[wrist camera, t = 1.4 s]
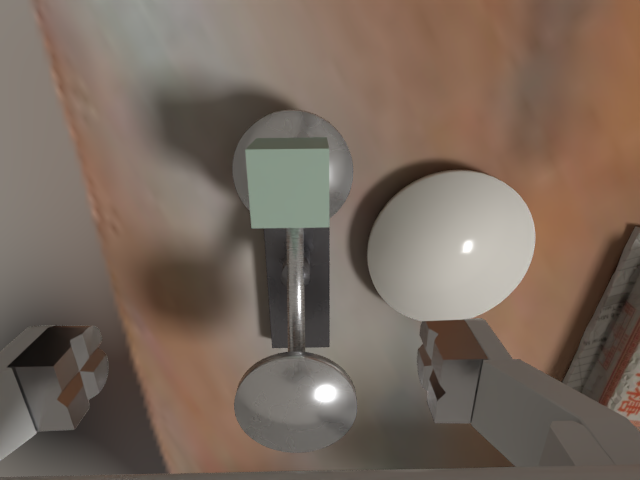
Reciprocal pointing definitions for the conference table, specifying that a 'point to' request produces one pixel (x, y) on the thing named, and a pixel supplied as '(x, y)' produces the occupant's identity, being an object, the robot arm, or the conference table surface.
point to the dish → (450, 246)
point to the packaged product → (613, 342)
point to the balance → (297, 312)
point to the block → (288, 182)
